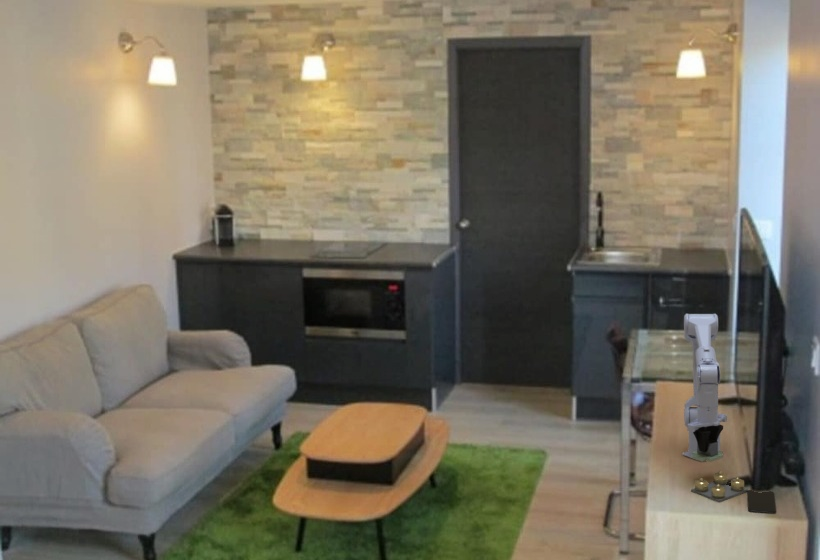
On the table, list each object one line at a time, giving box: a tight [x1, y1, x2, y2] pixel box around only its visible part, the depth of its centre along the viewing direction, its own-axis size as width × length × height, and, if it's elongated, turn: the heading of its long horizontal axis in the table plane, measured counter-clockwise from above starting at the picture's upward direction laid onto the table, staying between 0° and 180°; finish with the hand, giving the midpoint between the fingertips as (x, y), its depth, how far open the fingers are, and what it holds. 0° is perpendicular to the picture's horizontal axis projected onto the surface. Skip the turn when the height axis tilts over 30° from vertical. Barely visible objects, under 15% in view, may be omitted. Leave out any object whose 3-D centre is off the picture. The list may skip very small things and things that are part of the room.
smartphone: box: [746, 489, 777, 515], centre depth 301 cm, size 7×1×15 cm
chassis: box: [690, 470, 749, 503], centre depth 309 cm, size 12×10×4 cm
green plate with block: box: [691, 438, 724, 462], centre depth 316 cm, size 9×7×5 cm
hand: (706, 450), depth 317 cm, fingers closed on green plate with block, 3 cm apart
